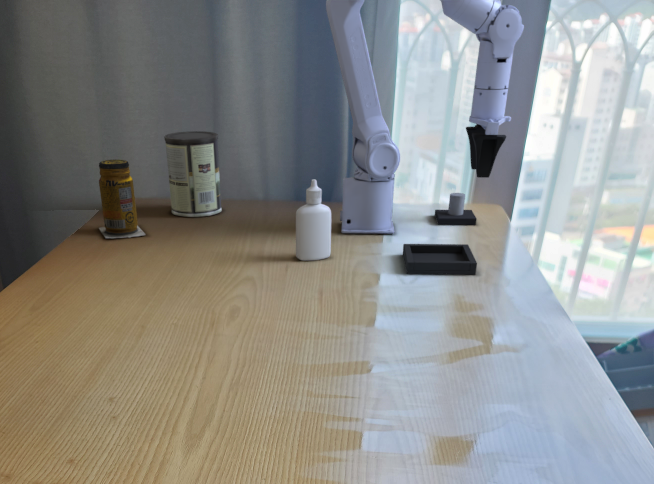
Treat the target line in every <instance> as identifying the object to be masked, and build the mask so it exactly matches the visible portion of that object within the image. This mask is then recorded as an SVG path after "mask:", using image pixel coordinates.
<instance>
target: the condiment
mask: <svg viewBox="0 0 654 484" xmlns="http://www.w3.org/2000/svg"><path fill="white" fill-rule="evenodd" d="M98 168H99V176H100V177H99V180H98V186H99V193H100V201H101V209H102V214H103V224H104V226H102V227H98V229H99V231H100V233H101V234H102V235H103V237H104V238H105V239H123V238H133V237H141V236H142V237H143V236H146V233H145V232H144V230H142V228H140V226H139V223H138V213H137V212H138V211H137V206H136V196H135V188H134V179H133V177H132V176H131V170H130V163H129V162H128V161H127V160H126V159H105V160H102V161H99V163H98Z"/></svg>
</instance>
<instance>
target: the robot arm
mask: <svg viewBox="0 0 654 484" xmlns="http://www.w3.org/2000/svg"><path fill="white" fill-rule="evenodd" d="M365 1H366V0H326V1H325V12H326V15H327V20H328V24H329V28H330V32H331V37H332V40H333V45H334V49H335V53H336V56H337V60H338V66H339V69H340V73H341V78H342V82H343V87H344V90H345V94H346V99H347V104H348V107H349V111H350V115H351V120H352V127H351V134H352V141H353V144H352V149H351V157H352V161H353V163H354V164H355V166H357V167H356V169H355V171H354V172H353V176H352V177H343V179H342V202H341V203H342V204H341V205H342V209H341V210H340V211H339V221H340V222H341V233H342V234H388V235H390V234H394V233H395V227H394V221H393V206H394V194H395V193H394V191H395V177H396V174H395V173H396V171H397V170H398V168H399V166H400V163H401V152H400V148H399V147H398V145H397V144H396V143H395V142H394V140H393V139H392V136H391V133H390V129H389V127H388V124H387V123H386V121H385V119H384V116H383V112H382V107H381V104H380V103H381V102H380V99H379V94H378V89H377V85H376V80H375V76H374V71H373V67H372V63H371V58H370V57H371V56H370V53H369V52H370V51H369V48H368V43H367V39H366V35H365V30H364V24H363V21H362V16H361V10H362V9H361V8H362V6H363V5H364V3H365ZM439 1H440V3H441V7H442V12H443V14H444V16H446V17H447V18H449V19H451V20H452V21H454V22H455V23H457V24H458V25H460V26H461V27H463V28H465V29H466V30H468V31H469V32H470V33H472V34H474V35H475V36H476V39H477V41H478V42H479V45H478V54H477V60H476V61H477V62H476V70H475V76H474V77H475V79H474V87H473V96H472V103H471V109H470V110H471V111H470V115H469V118H468V119H469V120H468V121H469V123H471V124H475V125H474V126H466V127H465V130H466V133H467V137H468V143H469V154H470V156H469V157H470V158H469V159H470V168H471V170H475V173H476V178H482V179H483V178H484V179H485V178H487V179H488V178H490V176H491V174H492V171H493V167H494V165H495V161H496V158H497V156H498V154H499V152H500V150H501V147H502V145H503V144H504V143H505V141H506V139H507V135H506V134H499V130H500V126H501V125H502V124H504V123H509V122H511V121H512V117H511V116H510V115H505V114H506V107H507V99H508V92H509V87H510V79H511V73H512V64H513V60H514V59H513V58H514V52H515V51H514V50H515V46H516V43H517V42H518V41H519V40H520V38H521V36H522V35H523V33H524V29H525V25H524V24H523V18H522V15H521V12H520V10H519V9H518V8H517V7H516V6H515V5H511V4H502V1H501V0H439Z"/></svg>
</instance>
